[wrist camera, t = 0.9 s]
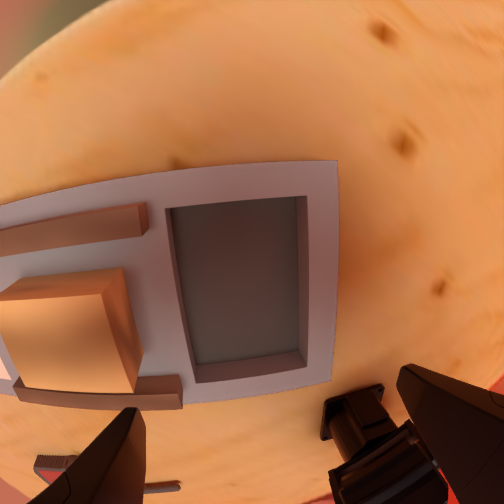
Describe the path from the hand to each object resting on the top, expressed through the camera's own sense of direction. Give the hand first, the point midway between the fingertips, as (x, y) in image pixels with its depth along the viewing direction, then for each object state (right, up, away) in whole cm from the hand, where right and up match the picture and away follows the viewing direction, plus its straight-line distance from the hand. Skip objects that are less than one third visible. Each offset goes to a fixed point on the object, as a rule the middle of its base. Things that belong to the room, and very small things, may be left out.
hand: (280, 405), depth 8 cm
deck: (-13, +1, +10) cm, 17 cm away
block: (-12, +1, +8) cm, 14 cm away
